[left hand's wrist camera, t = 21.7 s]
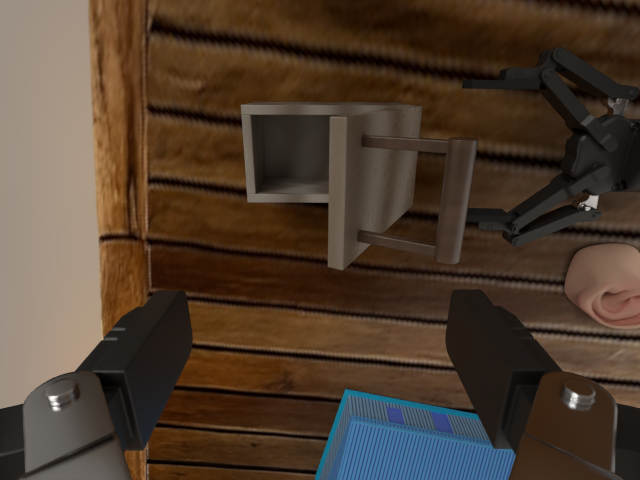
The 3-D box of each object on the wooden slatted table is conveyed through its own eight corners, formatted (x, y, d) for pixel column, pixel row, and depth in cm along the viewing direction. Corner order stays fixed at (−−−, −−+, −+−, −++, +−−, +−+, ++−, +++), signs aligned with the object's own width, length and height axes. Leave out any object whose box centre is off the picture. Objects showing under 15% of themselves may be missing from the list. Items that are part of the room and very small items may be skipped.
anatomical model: (575, 269, 49) (669, 237, 47) (557, 256, 52) (644, 226, 51) (589, 348, 53) (675, 321, 52) (571, 331, 57) (652, 306, 55)
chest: (260, 182, 49) (247, 202, 40) (256, 101, 45) (240, 104, 36) (390, 182, 49) (406, 203, 40) (396, 102, 45) (415, 105, 36)
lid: (327, 267, 26) (449, 295, 22) (329, 116, 22) (474, 122, 19) (402, 204, 40) (483, 215, 36) (410, 105, 36) (502, 107, 33)
